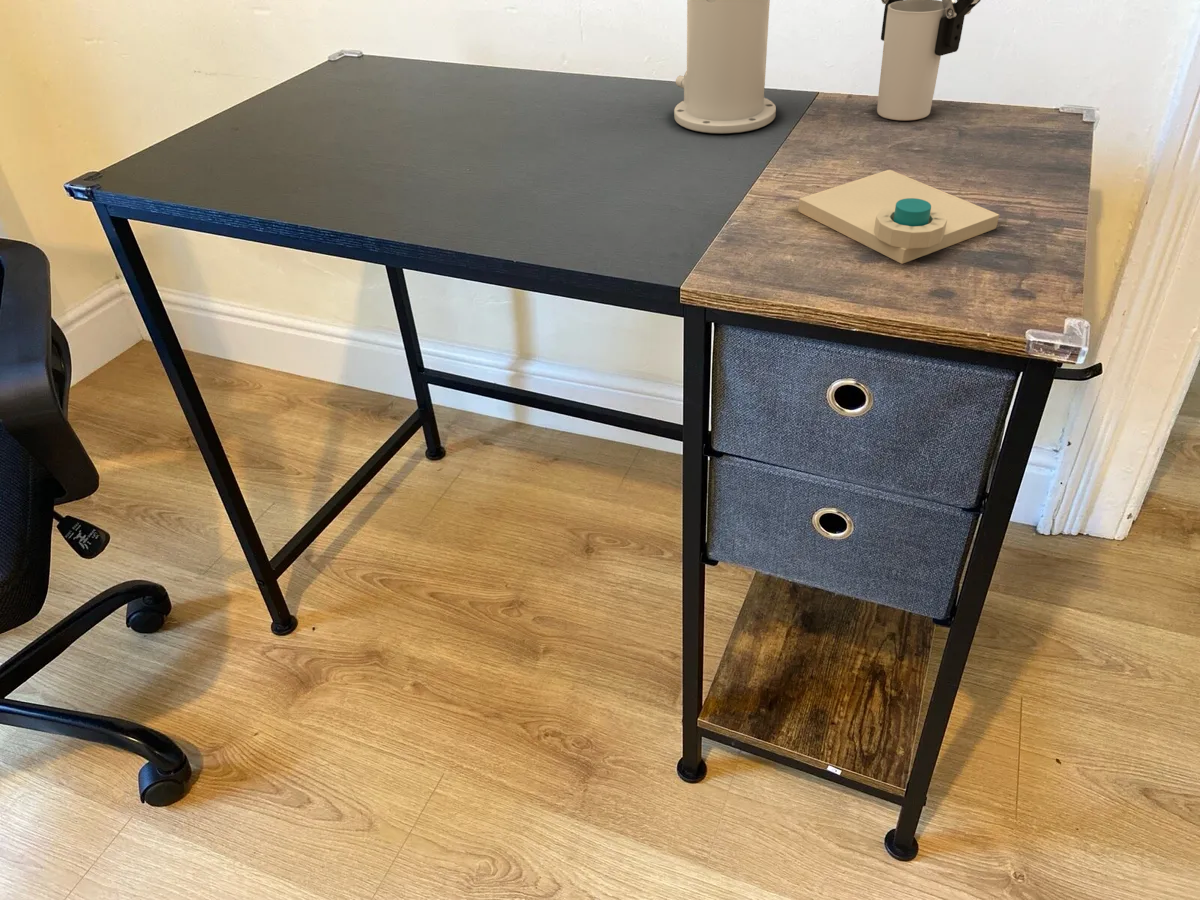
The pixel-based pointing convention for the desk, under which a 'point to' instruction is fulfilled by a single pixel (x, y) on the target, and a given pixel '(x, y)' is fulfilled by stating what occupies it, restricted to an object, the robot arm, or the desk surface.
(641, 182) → the desk surface
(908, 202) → the button
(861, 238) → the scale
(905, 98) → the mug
